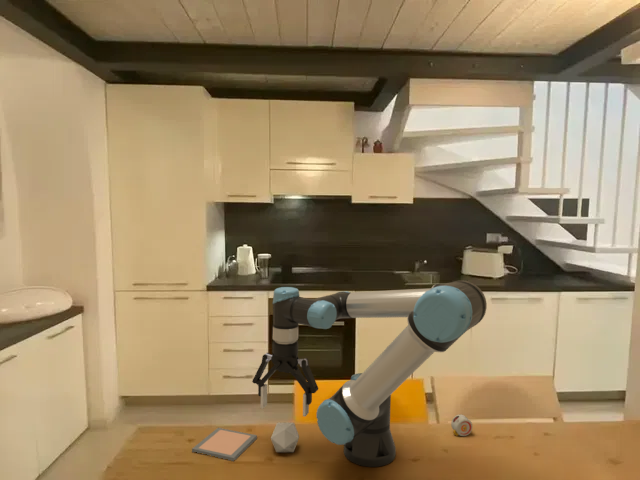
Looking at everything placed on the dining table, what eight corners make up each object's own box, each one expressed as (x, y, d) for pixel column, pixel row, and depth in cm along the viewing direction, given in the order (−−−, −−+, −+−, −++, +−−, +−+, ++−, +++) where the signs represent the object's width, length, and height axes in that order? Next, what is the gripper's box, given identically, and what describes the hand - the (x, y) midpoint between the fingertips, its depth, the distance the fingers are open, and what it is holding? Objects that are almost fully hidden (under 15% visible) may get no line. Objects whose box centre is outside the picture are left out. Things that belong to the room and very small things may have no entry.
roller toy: (474, 436, 146) (474, 419, 146) (455, 438, 145) (456, 420, 144) (467, 430, 150) (467, 412, 150) (449, 431, 149) (449, 414, 149)
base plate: (256, 438, 144) (256, 435, 144) (233, 461, 130) (233, 457, 130) (218, 430, 148) (218, 427, 148) (192, 452, 135) (191, 448, 135)
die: (287, 463, 131) (305, 432, 134) (262, 445, 132) (281, 415, 135) (289, 458, 139) (306, 429, 141) (265, 442, 140) (282, 413, 143)
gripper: (329, 341, 134) (328, 412, 136) (253, 332, 143) (253, 398, 144) (321, 349, 127) (319, 423, 129) (241, 338, 136) (241, 408, 137)
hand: (284, 410), depth 136 cm, fingers open, 13 cm apart
